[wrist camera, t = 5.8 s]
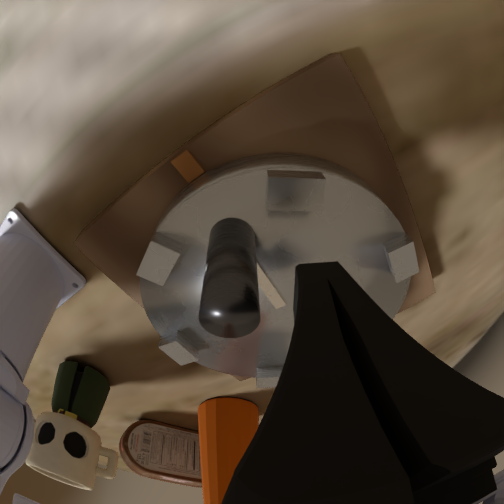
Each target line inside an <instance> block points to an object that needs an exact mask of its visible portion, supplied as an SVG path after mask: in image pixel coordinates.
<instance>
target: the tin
mask: <svg viewBox="0 0 504 504" xmlns="http://www.w3.org/2000/svg"><path fill="white" fill-rule="evenodd" d="M119 449H120V454H121V457H122V459H123V461H124V462H125V464H126V465H127V466H128V467H129V468H130V469H131V470H132V471H134V472H135V473H137V474H139V475H141V476H143V477H148V478H151V479H156V480H161V481H166V482H170V483H175V484H181V485H186V486H192V487H202V475H201V461H200V445H199V432H198V431H194V430H189V429H185V428H181V427H177V426H173V425H169V424H165V423H161V422H158V421H154V420H141V421H137V422H135V423H133V424H132V425H130V426H129V427H128V428H127V430H126V431H125V432H124V433H123V435H122V437H121V439H120V443H119Z"/></svg>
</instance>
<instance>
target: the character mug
mask: <svg viewBox="0 0 504 504" xmlns="http://www.w3.org/2000/svg"><path fill="white" fill-rule="evenodd" d="M77 365H78V363H77V362H70V361H65V362H63V363H61V364H60V365H59V369H58V373H57V376H56V381H55V386H54V392H53V397H52V411H53V412H42V413H41V414H40V415H39V416H38V417H37V420H36V423H35V422H34V438H33V443H32V447H31V450H30V453H29V455H28V457H27V459H26V464H27V465H28V466H29V467H31V468H33V469H34V470H36V471H38V472H40V473H42V474H44V475H46V476H48V477H51V478H53V479H55V480H58V481H60V482H63V483H65V484H69V485H71V486H75V487H78V488H82V489H87V490H93V489H94V484H95V477H96V475H97V476H100V477H104V478H108V479H114V477H115V475H116V470H117V463H118V452H116V451H114V450H112V449H108V448H104V447H101V444H102V443H101V439H100V436H99V435H98V434H97V432H95V431H94V430H92V429H91V428H92V427H93V426H94V425H95V424H96V422H97V420H98V418H99V415H100V413H101V411H102V408H103V406H104V403H105V401H106V398H107V396H108V393H109V390H110V386H109V383H108V380H107V379H106V378H105V377H104V376H103V375H102V374H101V373H99V372H98V371H96V370H94V369H92V368H91V367H89V366H86V367H85V370H84V373H83V372H80V371H76V369H77ZM99 455H102V456H105V457H108V464H107V469H103V468H100V467H97V466H98V460H99Z"/></svg>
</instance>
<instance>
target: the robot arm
mask: <svg viewBox="0 0 504 504" xmlns="http://www.w3.org/2000/svg"><path fill="white" fill-rule="evenodd" d="M75 283H76V284H75ZM85 284H86V280H85V278H84V277H83V276H82V275H81V274H80V273H79V272H78V271H77V270H76V269H75V268H73V267H72V266H71V265H70V264H69V263H68V262H67V261H66V260H65V259H64V258H63V257H62V256H61V255H60V254H59V253H58V252H57V251H56V250H55V249H54V248H53V247H52V246H51V245H50V244H49V243H48V242H47V241H46V240H45V239H44V238H43V237H42V236H41V235H40V234H39V233H38V232H37V231H36V230H35V229H34V227H33V226H32V225H31V224H30V223H29V222H28V221H27V220H26V219H25V218H24V217H23V215H22V214H21V213H20V212H19V211H18V210H17V209H15V208H13V209H11V210H10V211H9V213H8V214H7V216H6V217H5V219H4V221H3V222H2V224H1V226H0V495H1V492H2V490H3V487H4V485H5V483H6V482H7V480H8V479H9V477H10V476H11V475H12V474H13V473H14V472H15V471H16V470H17V469H18V468H20V467H21V466H22V465H23V463H24V462H25V461H26V459H27V457H28V455H29V453H30V450H31V447H32V443H33V438H34V420H33V414H32V411H31V408H30V406H29V405H28V403H27V402H26V399H27V397H28V394H29V389H28V388H27V387H26V386H25V385H24V384H23V380H24V378H25V375H26V373H27V370H28V368H29V366H30V363H31V361H32V358H33V356H34V354H35V352H36V349H37V347H38V345H39V343H40V341H41V338H42V336H43V334H44V332H45V330H46V328H47V326H48V324H49V322H50V320H51V318H52V316H53V314H54V312H55V310H56V309H57V308H58V307H60V306H61V305H62V304H63V303H64V302H66V301H67V300H68V299H69V298H70V297H72V296H73V295H74V294H75V293H77V292H78V291H79V290H80V289H82V288H83V287H84V286H85ZM293 313H294V328H293V333H292V337H291V341H290V345H289V349H288V353H287V356H286V359H285V363H284V366H283V369H282V372H281V375H280V377H279V380H278V383H277V386H276V388H275V391H274V393H273V396H272V398H271V401H270V403H269V405H268V407H267V410H266V412H265V414H264V416H263V418H262V420H261V423H260V425H259V427H258V429H257V431H256V433H255V435H254V437H253V439H252V440H251V442H250V444H249V446H248V448H247V449H246V451H245V453H244V455H243V456H242V458H241V460H240V461H239V463H238V465H237V467H236V468H235V470H234V473H233V476H232V478H231V481H230V483H229V486H228V488H227V491H226V493H225V495H224V498H223V500H222V503H221V504H479V503H480V502H482V501H483V504H504V469H503V470H502V471H500V472H499V473H497V474H495V475H493V472H492V469H493V468H495V467H496V465H497V463H496V460H495V457H494V456H496V455H497V454H499V453H500V452H502V451H503V450H504V398H503V397H501V396H499V395H497V394H495V393H493V392H491V391H489V390H487V389H485V388H483V387H482V386H480V385H478V384H476V383H475V382H473V381H471V380H470V379H468V378H466V377H465V376H463V375H462V374H460V373H459V372H457V371H455V370H454V369H453V368H451V367H450V366H448V365H447V364H445V363H444V362H443V361H441V360H440V359H438V358H437V357H436V356H434V355H433V354H432V353H430V352H429V351H428V350H427V349H425V348H424V347H423V346H422V345H421V344H419V343H418V342H417V341H416V340H414V339H413V338H412V337H411V336H410V335H409V334H407V333H406V332H405V331H404V330H403V329H402V328H401V327H400V326H399V325H398V324H397V323H396V322H394V321H393V320H392V319H391V318H390V317H389V316H388V315H387V314H386V313H385V312H384V311H383V310H382V309H381V308H380V307H379V306H378V305H377V303H376V302H375V301H374V300H373V299H372V298H371V297H370V296H369V295H368V294H367V293H366V292H365V291H364V290H363V289H362V287H361V286H360V285H359V284H358V283H357V282H356V281H355V280H354V279H353V278H352V276H351V275H350V274H349V273H348V272H347V271H346V270H345V269H344V268H343V266H342V265H341V264H340V263H339V262H338V261H334V262H319V263H304V264H298V265H297V266H296V267H295V283H294V300H293ZM13 504H40V503H37V502H35V501H33V500H31V499H28V498H26V497H24V496H21V495H19V494H17V493H16V494H14V497H13Z"/></svg>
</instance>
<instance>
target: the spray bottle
mask: <svg viewBox="0 0 504 504" xmlns="http://www.w3.org/2000/svg"><path fill="white" fill-rule="evenodd" d="M258 421H259V410H258V407H257V406H256V405H255V404H253V403H252V402H250V401H247V400H244V399H240V398H231V397H223V398H214V399H210V400H207V401H205V402H203V403H202V404H200V405H199V408H198V426H199V445H200V461H201V475H202V487H203V499H204V504H221V503H222V500H223V498H224V495H225V493H226V491H227V488H228V486H229V483H230V481H231V478H232V476H233V473H234V470H235V468H236V467H237V465H238V463H239V461H240V460H241V458H242V456H243V455H244V453H245V451H246V449H247V448H248V446H249V444H250V442H251V440H252V439H253V437H254V435H255V433H256V431H257V429H258Z"/></svg>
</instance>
